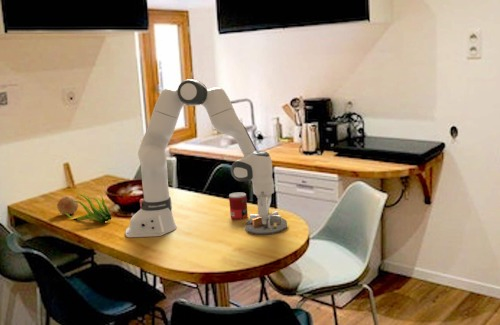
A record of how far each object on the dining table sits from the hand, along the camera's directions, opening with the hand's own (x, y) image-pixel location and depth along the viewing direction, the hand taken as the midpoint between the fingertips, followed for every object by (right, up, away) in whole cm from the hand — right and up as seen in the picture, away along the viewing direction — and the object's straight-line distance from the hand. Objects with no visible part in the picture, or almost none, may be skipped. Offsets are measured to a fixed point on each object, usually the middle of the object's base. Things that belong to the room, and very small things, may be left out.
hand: (265, 219), depth 226 cm
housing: (0, -4, +1) cm, 4 cm away
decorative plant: (-87, -4, +30) cm, 93 cm away
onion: (-99, -2, +41) cm, 107 cm away
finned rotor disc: (0, -1, 0) cm, 1 cm away
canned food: (-12, -1, +17) cm, 21 cm away
